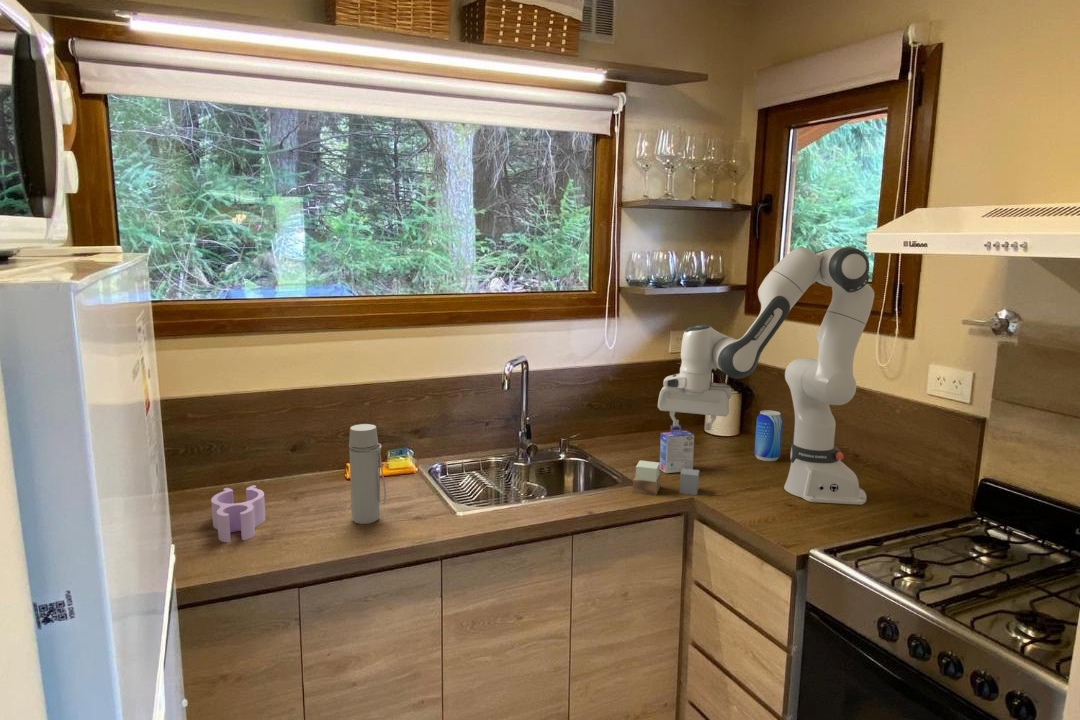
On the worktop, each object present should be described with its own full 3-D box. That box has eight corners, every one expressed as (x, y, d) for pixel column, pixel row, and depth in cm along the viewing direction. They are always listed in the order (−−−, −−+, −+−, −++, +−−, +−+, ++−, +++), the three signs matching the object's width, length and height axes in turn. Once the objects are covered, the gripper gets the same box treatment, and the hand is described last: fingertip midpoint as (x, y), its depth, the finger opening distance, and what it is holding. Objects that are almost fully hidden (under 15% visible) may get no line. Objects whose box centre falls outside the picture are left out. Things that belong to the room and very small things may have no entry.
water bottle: (346, 525, 180) (343, 430, 175) (358, 513, 187) (355, 422, 183) (380, 527, 178) (378, 432, 174) (391, 515, 186) (389, 424, 182)
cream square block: (659, 475, 209) (659, 462, 208) (656, 482, 203) (656, 468, 203) (639, 473, 211) (639, 460, 210) (635, 479, 205) (636, 466, 205)
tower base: (660, 487, 210) (660, 475, 209) (656, 495, 204) (657, 482, 203) (636, 485, 212) (637, 472, 211) (632, 493, 206) (633, 480, 205)
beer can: (748, 456, 241) (751, 410, 238) (767, 453, 245) (770, 408, 242) (766, 463, 234) (769, 416, 231) (785, 460, 237) (788, 414, 234)
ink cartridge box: (685, 466, 230) (687, 423, 227) (693, 471, 224) (696, 427, 222) (658, 468, 227) (659, 425, 224) (665, 474, 222) (667, 429, 219)
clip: (263, 538, 171) (262, 511, 170) (207, 545, 167) (205, 518, 166) (266, 508, 190) (265, 484, 189) (216, 514, 186) (214, 489, 185)
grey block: (698, 489, 209) (699, 470, 208) (696, 495, 204) (697, 475, 203) (681, 487, 210) (682, 468, 209) (679, 493, 206) (680, 473, 204)
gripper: (732, 382, 201) (729, 428, 204) (661, 376, 207) (658, 421, 210) (731, 386, 195) (728, 434, 198) (658, 380, 201) (655, 427, 204)
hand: (692, 427), depth 204 cm, fingers open, 8 cm apart
